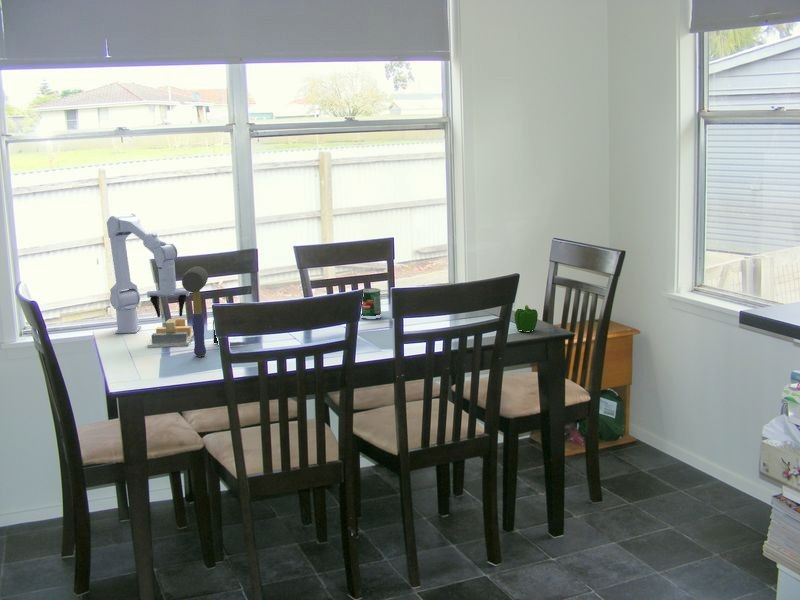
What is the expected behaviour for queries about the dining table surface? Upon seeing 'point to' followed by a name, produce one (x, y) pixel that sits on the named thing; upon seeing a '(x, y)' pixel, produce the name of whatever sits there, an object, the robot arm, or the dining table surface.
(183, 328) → the sliding jaw
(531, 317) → the bell pepper
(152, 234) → the robot arm
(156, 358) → the dining table surface
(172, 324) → the brass block
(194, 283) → the rubber mallet
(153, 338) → the gray rectangular tray
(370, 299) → the canned tomato
